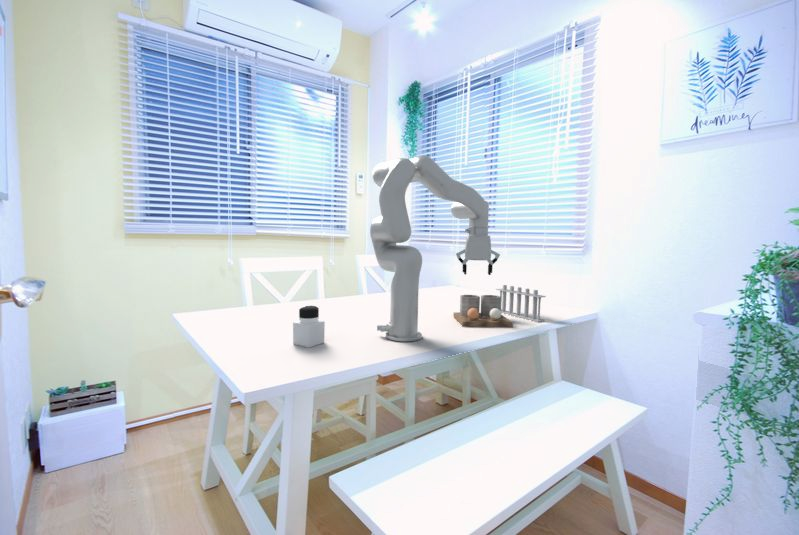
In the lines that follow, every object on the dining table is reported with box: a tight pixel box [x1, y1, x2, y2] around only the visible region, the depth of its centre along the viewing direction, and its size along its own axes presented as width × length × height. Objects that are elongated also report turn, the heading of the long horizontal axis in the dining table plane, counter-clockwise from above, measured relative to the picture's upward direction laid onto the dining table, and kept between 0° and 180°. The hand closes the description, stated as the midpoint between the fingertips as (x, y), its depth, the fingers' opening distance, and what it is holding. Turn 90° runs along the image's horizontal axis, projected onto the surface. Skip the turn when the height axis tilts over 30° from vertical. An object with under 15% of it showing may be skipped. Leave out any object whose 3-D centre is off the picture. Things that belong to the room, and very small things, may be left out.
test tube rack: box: [495, 284, 546, 323], centre depth 168 cm, size 25×4×13 cm, turn 30°
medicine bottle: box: [292, 305, 326, 348], centre depth 120 cm, size 7×7×12 cm
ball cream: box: [490, 308, 502, 319], centre depth 151 cm, size 4×4×4 cm
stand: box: [452, 294, 514, 328], centre depth 156 cm, size 20×18×10 cm
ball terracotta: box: [467, 308, 480, 319], centre depth 150 cm, size 4×4×4 cm
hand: (477, 274), depth 152 cm, fingers open, 9 cm apart
